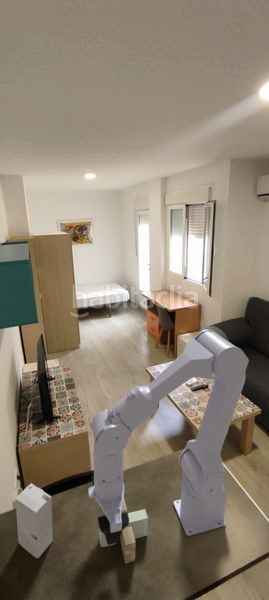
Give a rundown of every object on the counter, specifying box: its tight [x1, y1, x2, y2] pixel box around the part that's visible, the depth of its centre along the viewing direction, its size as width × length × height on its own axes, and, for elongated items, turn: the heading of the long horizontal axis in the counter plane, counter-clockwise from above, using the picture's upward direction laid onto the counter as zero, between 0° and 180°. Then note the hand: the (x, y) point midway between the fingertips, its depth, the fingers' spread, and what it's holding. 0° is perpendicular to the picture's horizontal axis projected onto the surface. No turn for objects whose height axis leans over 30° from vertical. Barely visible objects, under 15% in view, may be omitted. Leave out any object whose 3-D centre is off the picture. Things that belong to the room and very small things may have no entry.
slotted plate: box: [98, 508, 149, 548], centre depth 62 cm, size 10×2×5 cm, turn 105°
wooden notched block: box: [119, 496, 137, 564], centre depth 62 cm, size 2×10×5 cm, turn 15°
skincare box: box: [15, 483, 54, 559], centre depth 59 cm, size 6×4×12 cm
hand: (109, 522), depth 60 cm, fingers open, 7 cm apart
